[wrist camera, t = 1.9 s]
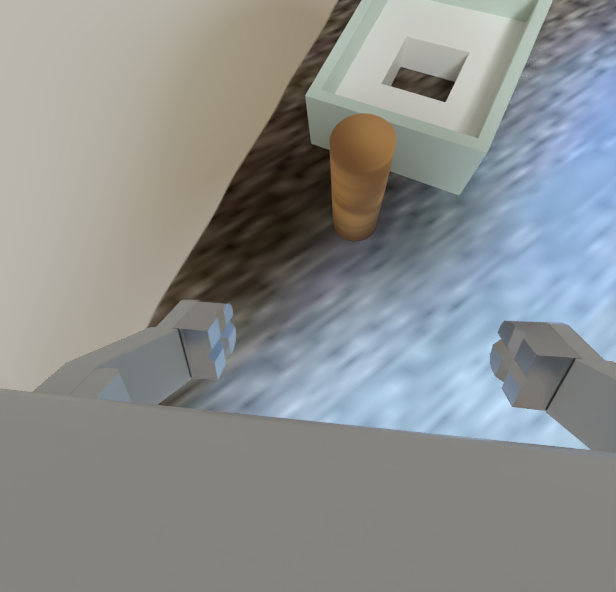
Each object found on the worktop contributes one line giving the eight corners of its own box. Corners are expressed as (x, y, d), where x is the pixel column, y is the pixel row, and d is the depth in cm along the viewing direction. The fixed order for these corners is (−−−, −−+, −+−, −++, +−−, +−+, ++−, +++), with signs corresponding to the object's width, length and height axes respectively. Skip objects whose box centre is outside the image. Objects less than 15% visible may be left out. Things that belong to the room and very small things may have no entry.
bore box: (383, 16, 34) (391, -50, 29) (522, 50, 31) (559, -17, 26) (311, 143, 31) (305, 95, 26) (459, 195, 28) (487, 153, 23)
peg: (362, 194, 29) (373, 103, 19) (385, 227, 28) (409, 148, 18) (325, 214, 29) (317, 132, 19) (346, 248, 28) (350, 180, 18)
